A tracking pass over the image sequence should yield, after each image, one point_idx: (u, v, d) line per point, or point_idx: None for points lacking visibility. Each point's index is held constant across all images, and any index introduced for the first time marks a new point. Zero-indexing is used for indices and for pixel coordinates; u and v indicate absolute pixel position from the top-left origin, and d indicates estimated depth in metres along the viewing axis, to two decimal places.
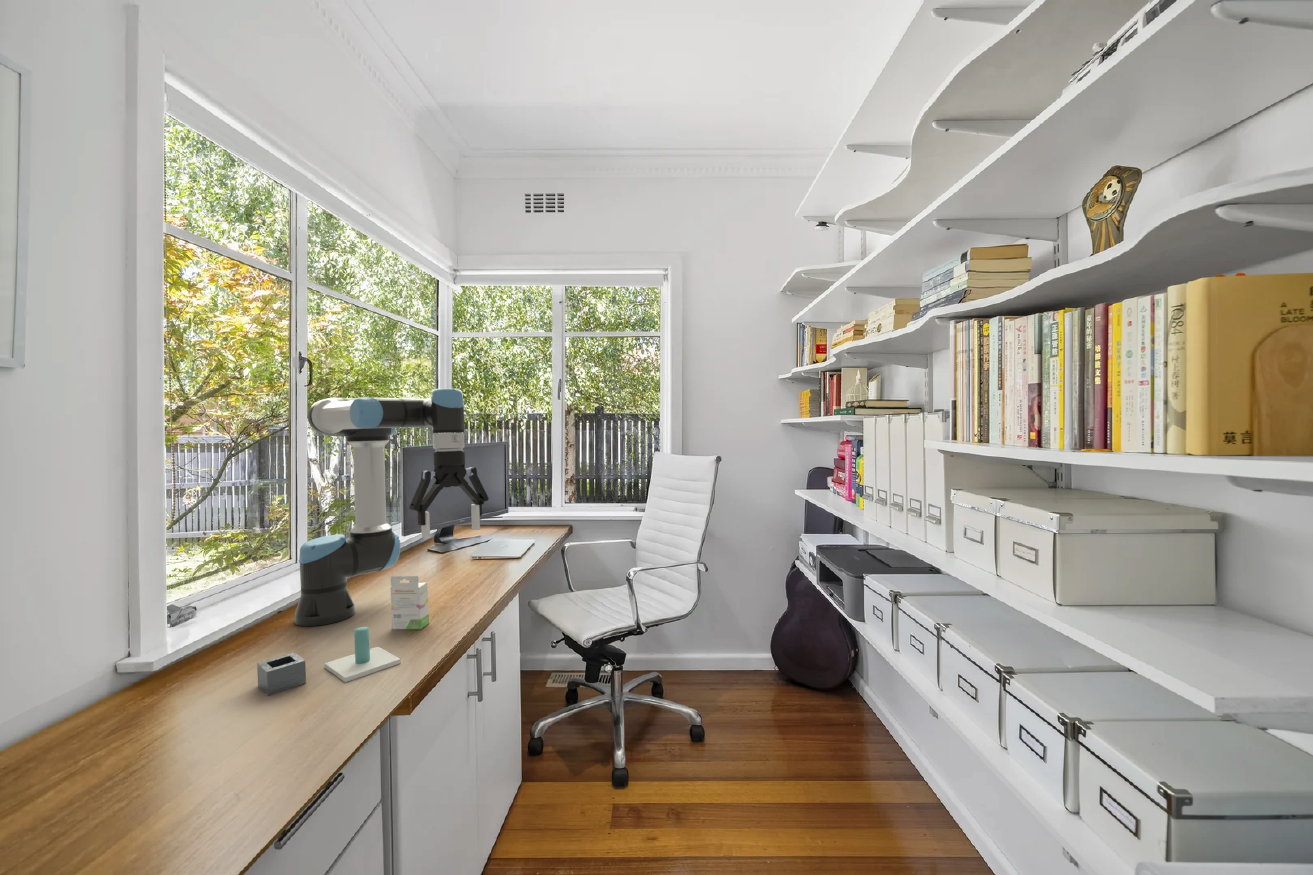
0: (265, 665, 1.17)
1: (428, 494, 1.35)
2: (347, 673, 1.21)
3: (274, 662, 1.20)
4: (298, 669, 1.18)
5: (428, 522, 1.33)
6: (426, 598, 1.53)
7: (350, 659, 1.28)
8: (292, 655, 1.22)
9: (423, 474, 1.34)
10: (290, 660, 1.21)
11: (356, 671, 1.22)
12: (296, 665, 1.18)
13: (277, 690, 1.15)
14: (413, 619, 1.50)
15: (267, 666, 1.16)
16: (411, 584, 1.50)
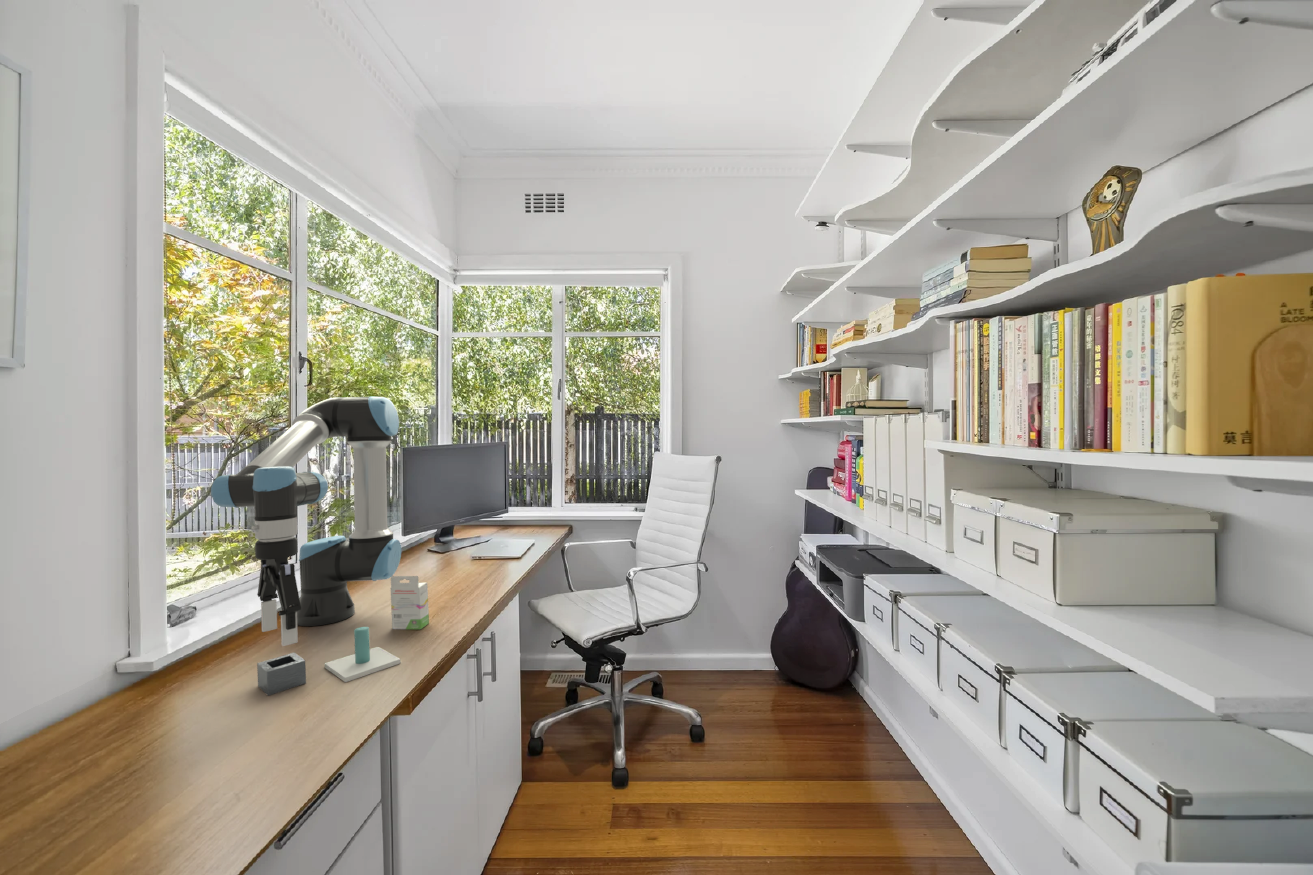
0: (265, 665, 1.17)
1: None
2: (347, 673, 1.21)
3: (274, 662, 1.20)
4: (298, 669, 1.18)
5: (261, 613, 1.21)
6: (426, 598, 1.53)
7: (350, 659, 1.28)
8: (292, 655, 1.22)
9: None
10: (290, 660, 1.21)
11: (356, 671, 1.22)
12: (296, 665, 1.18)
13: (277, 690, 1.15)
14: (413, 619, 1.50)
15: (267, 666, 1.16)
16: (411, 584, 1.50)
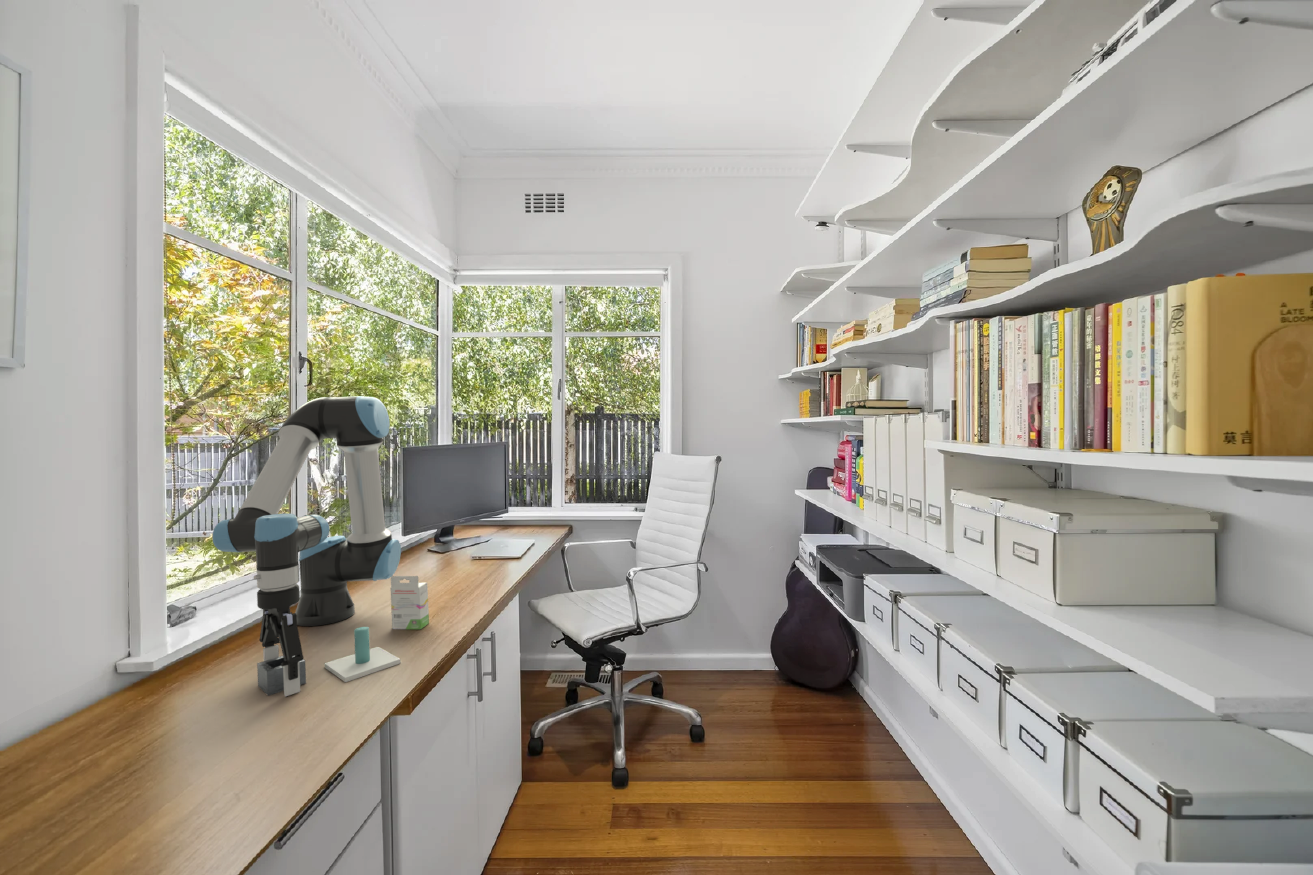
0: (265, 665, 1.17)
1: None
2: (347, 673, 1.21)
3: (274, 662, 1.20)
4: None
5: (264, 660, 1.22)
6: (426, 598, 1.53)
7: (350, 659, 1.28)
8: None
9: None
10: None
11: (356, 671, 1.22)
12: None
13: (277, 690, 1.15)
14: (413, 619, 1.50)
15: (267, 666, 1.16)
16: (411, 584, 1.50)
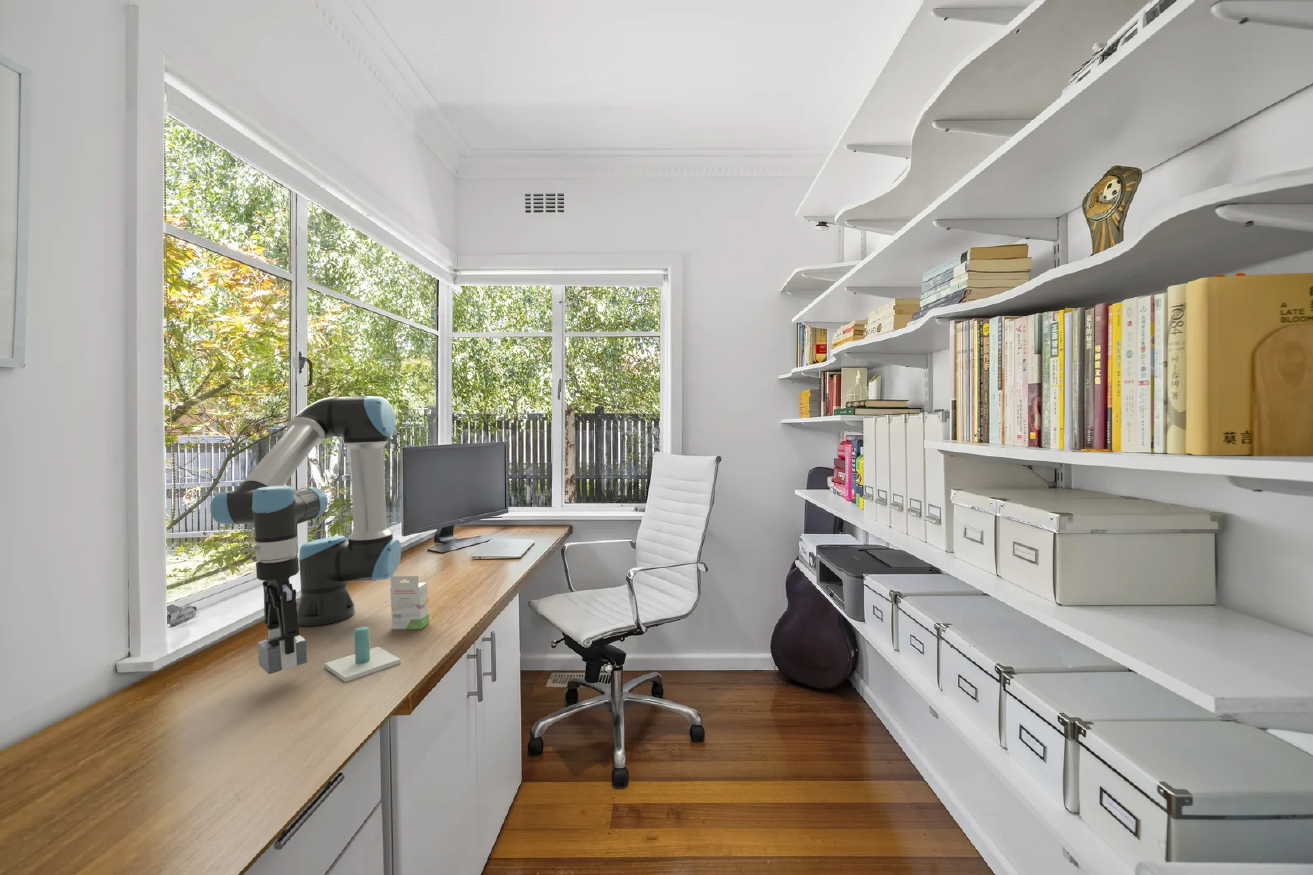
0: (266, 644, 1.17)
1: None
2: (347, 673, 1.21)
3: (275, 641, 1.20)
4: (299, 648, 1.19)
5: None
6: (426, 598, 1.53)
7: (350, 659, 1.28)
8: None
9: None
10: None
11: (356, 671, 1.22)
12: (297, 644, 1.18)
13: (278, 669, 1.16)
14: (413, 619, 1.50)
15: (268, 645, 1.17)
16: (411, 584, 1.50)
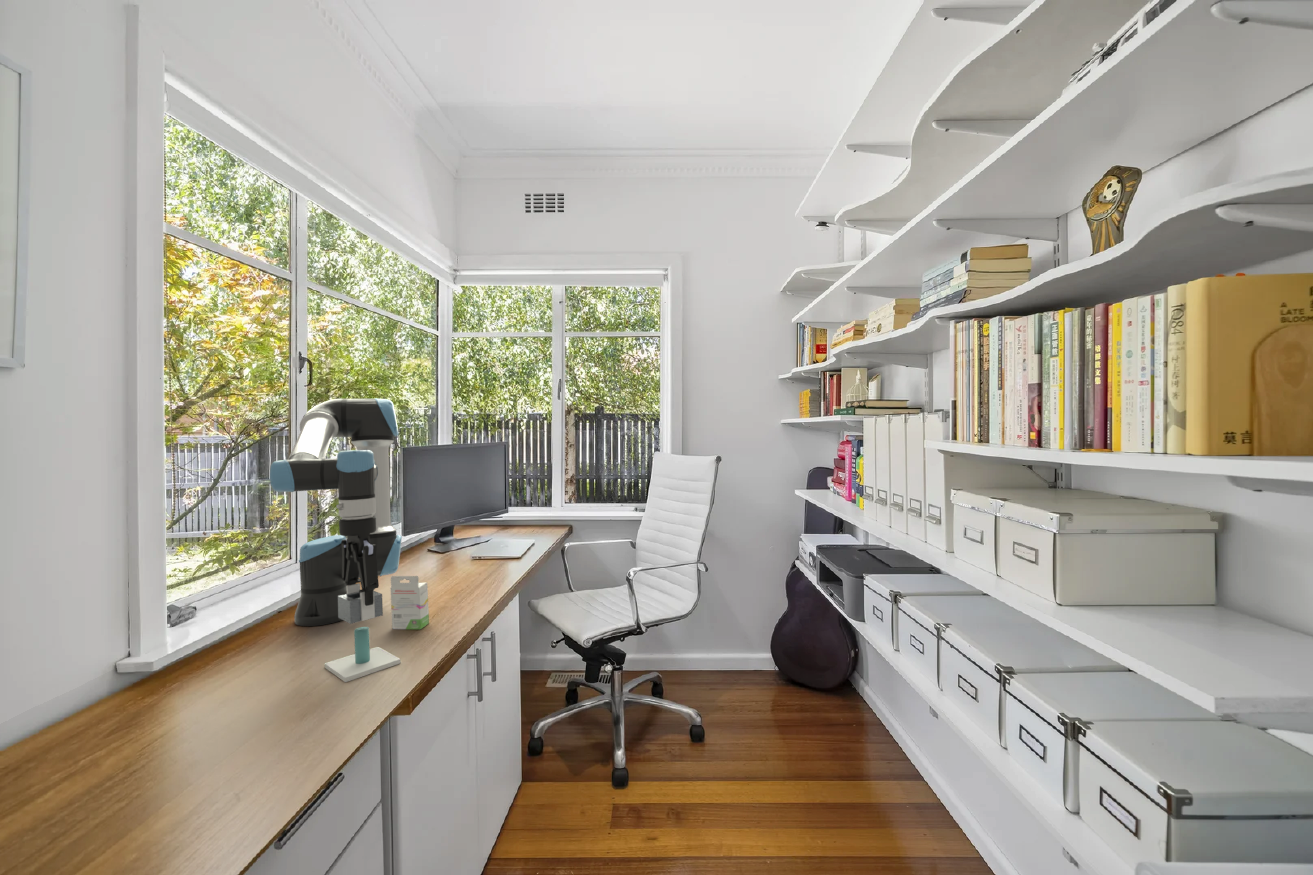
0: (346, 597, 1.25)
1: None
2: (347, 673, 1.21)
3: (353, 596, 1.28)
4: (376, 601, 1.26)
5: None
6: (426, 598, 1.53)
7: (350, 659, 1.28)
8: None
9: None
10: None
11: (356, 671, 1.22)
12: (374, 597, 1.26)
13: (358, 619, 1.23)
14: (413, 619, 1.50)
15: (348, 598, 1.25)
16: (411, 584, 1.50)
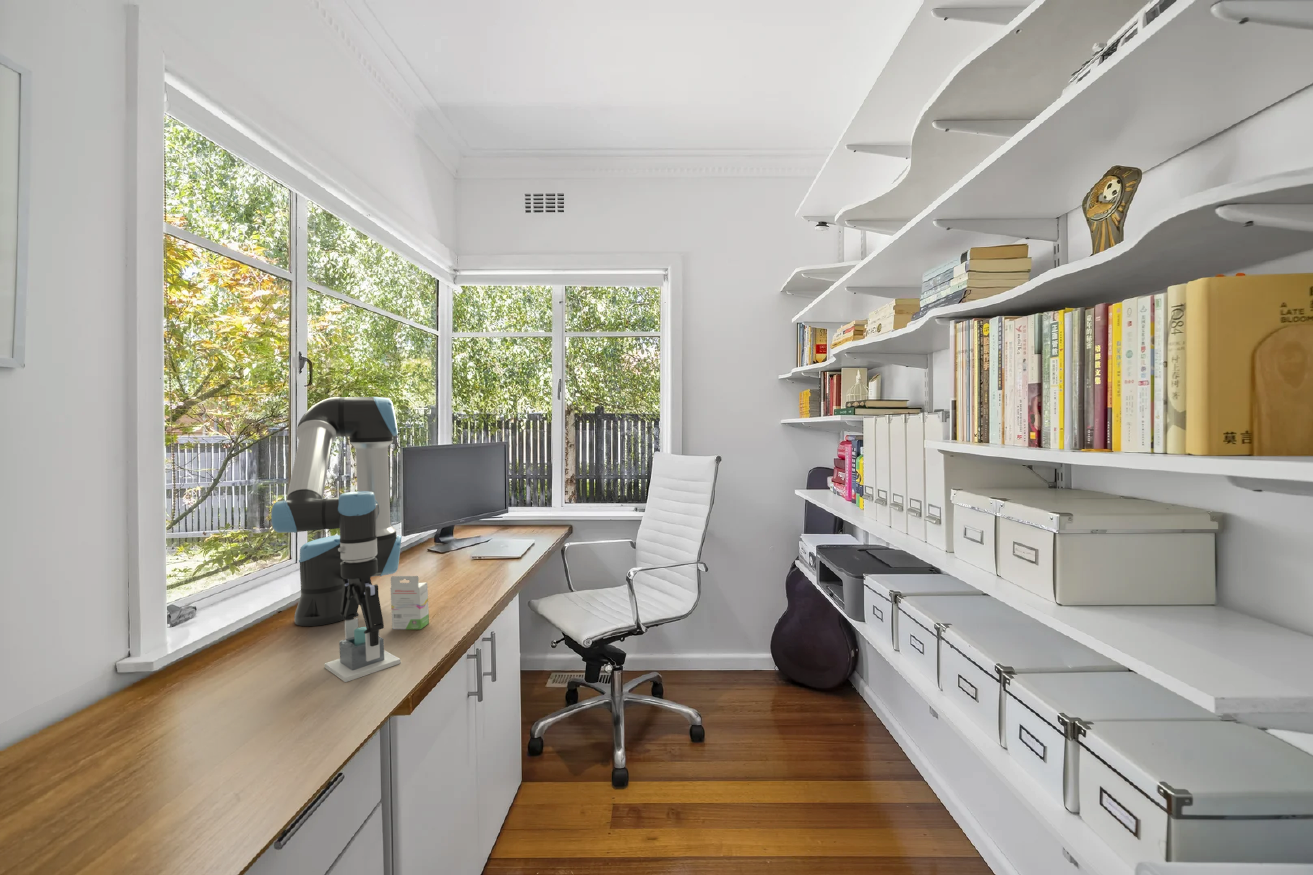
0: (347, 643, 1.26)
1: None
2: (347, 673, 1.21)
3: (354, 640, 1.28)
4: None
5: (345, 631, 1.30)
6: (426, 598, 1.53)
7: None
8: None
9: None
10: None
11: (356, 671, 1.22)
12: None
13: (360, 665, 1.24)
14: (413, 619, 1.50)
15: (350, 643, 1.25)
16: (411, 584, 1.50)
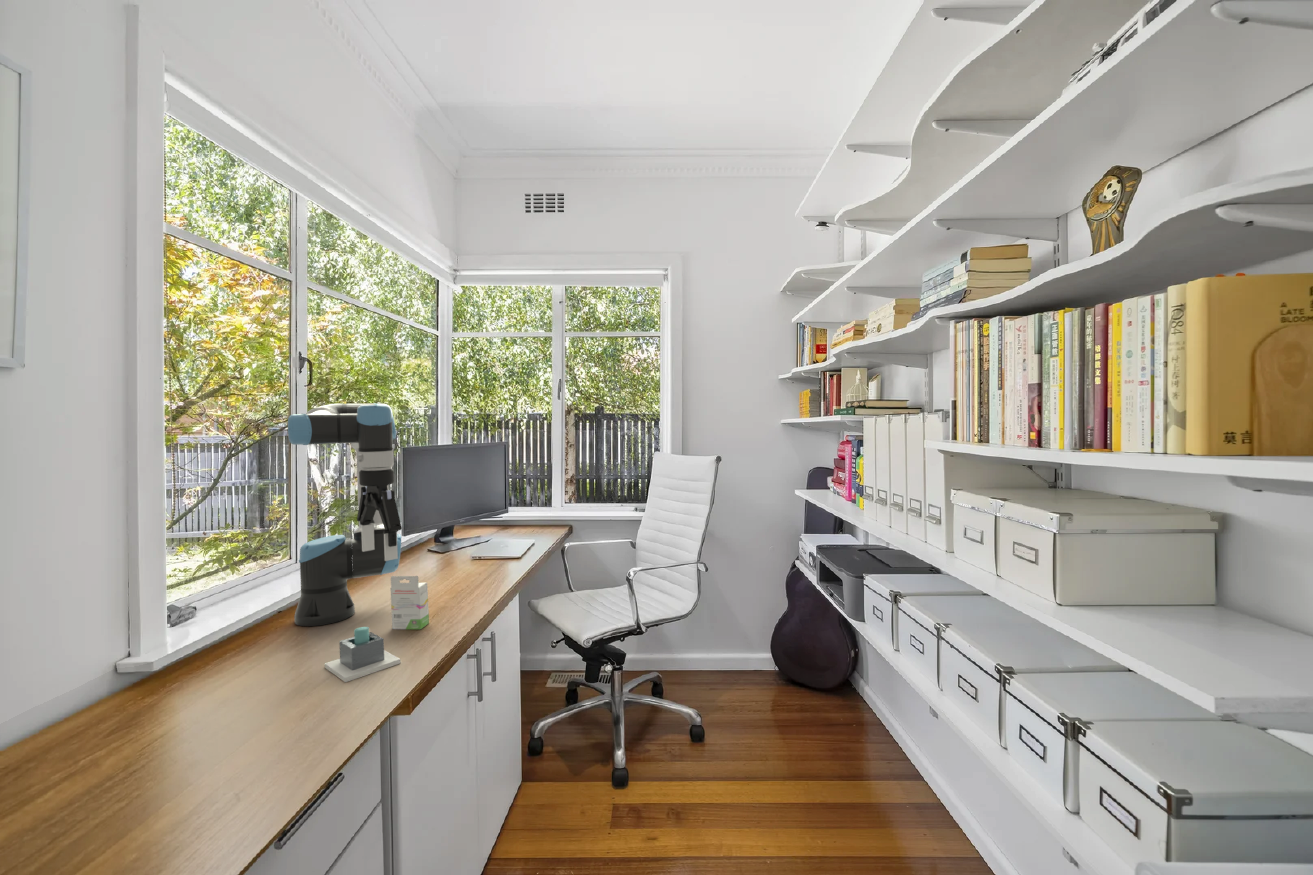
0: (347, 643, 1.26)
1: None
2: (347, 673, 1.21)
3: (354, 640, 1.28)
4: (377, 646, 1.27)
5: (362, 535, 1.38)
6: (426, 598, 1.53)
7: None
8: (370, 634, 1.31)
9: None
10: None
11: (356, 671, 1.22)
12: (376, 643, 1.27)
13: (360, 665, 1.24)
14: (413, 619, 1.50)
15: (350, 643, 1.25)
16: (411, 584, 1.50)
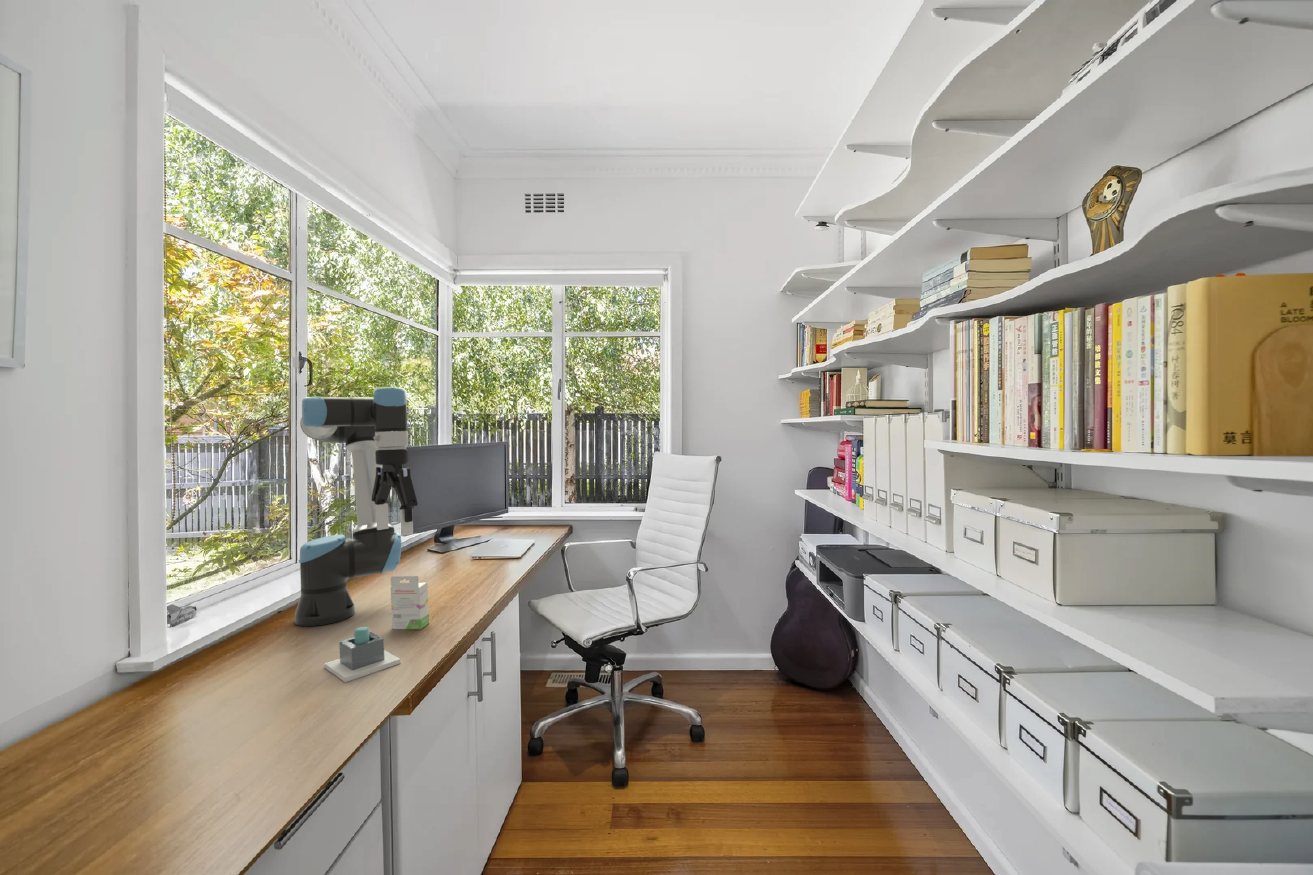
0: (347, 643, 1.26)
1: None
2: (347, 673, 1.21)
3: (354, 640, 1.28)
4: (377, 646, 1.27)
5: (377, 514, 1.43)
6: (426, 598, 1.53)
7: None
8: (370, 634, 1.31)
9: None
10: None
11: (356, 671, 1.22)
12: (376, 643, 1.27)
13: (360, 665, 1.24)
14: (413, 619, 1.50)
15: (350, 643, 1.25)
16: (411, 584, 1.50)
